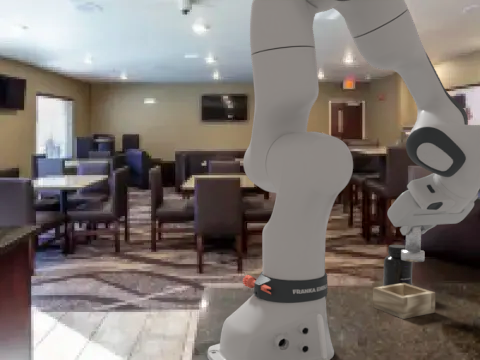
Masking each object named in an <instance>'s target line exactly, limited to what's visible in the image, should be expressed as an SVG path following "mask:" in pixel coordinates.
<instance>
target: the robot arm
mask: <svg viewBox="0 0 480 360" xmlns="http://www.w3.org/2000/svg"><path fill="white" fill-rule="evenodd" d="M250 6H251V9H250V20H249V21H250V23H249V41H250V42H249V45H250V46H249V47H250V56H251V57H250V59H251V70H252V79H253V91H254V111H253V112H254V114H253V121H252V127H251V128H252V129H251V136H250V137H251V138H250V142H249V145H248V147H247V149H246V151H245V152H244V156H243V163H242V164H243V165H242V166H243V171H244V172H245V175H246V177H247V178H248V180H249V181H250V182H251V183H253V184H254V185H255V186H257V187H259V188H260V189H261V190H263V191H265V192H269V193H275V200H274V201H275V202H274V206H273V209H272V213H271V216H270V218H269V220H268V222H267V223H266V224H265V225H264V226H263V229H262V231H261V232H262V235H261V236H262V237H261V238H262V241H261V242H262V245H261V246H262V253H261V254H262V258H261V259H262V260H261V261H262V271H261V272H260V274H259V276H258V277H257V278H256V277H254V276H252V275H249V274H247V275H244V277H243V278H242V284H243V285H244V286H245V287H247V288H249V289H253V294H252V295H251V296H250V297H248V299H247V300H246V301H245V302H244V303H242V305H240V306H239V307H238V308H237V309H236V310H235V311H234V312H232V313H231V314H230V315H229V316H228V317H226V319H225V320H224V321H223V324H222V329H221V331H220V332H221V333H220V340H219V343H216V344H213V345H210V346H209V347H208V349H207V359H208V360H331V359H333V357H334V355H335V350H334V347H333V344H332V343H333V342H332V340H331V335H330V329H329V324H328V317H327V316H328V314H327V304H326V303H327V302H326V301H327V298H328V297H327V296H328V291H329V290H328V273H326V239H327V236H326V235H327V228H328V223H329V219H330V216H331V212H332V210H333V206H334V204H335V201H336V199H337V197H338V195H339V194H340V193H341V192H342V191H343V190H344V189H345V188H346V186H348V184H349V183H350V180H351V178H352V175H353V171H354V170H353V169H354V161H353V159H354V158H353V155H352V153H351V151H350V148H349V147H348V145H347V144H346V143H345V142H344V141H343V140H341V139H340V138H338V137H336V136H333V135H330V134H328V133H324V132H318V131H308V125H309V118H310V113H311V110H312V107H313V106H314V104H315V103H316V101H317V99H318V98H319V97H318V96H319V92H320V88H319V87H320V86H319V76H318V75H319V74H318V63H317V54H316V53H317V52H316V44H315V34H314V20H315V17H316V15H317V14H319V13H323V12H327V11H329V10H332V9H334V10H336V11H337V13H339V14H340V15H341V16H342V17H343V20H344V22H345V25H346V27H347V29H348V32H349V33H350V36H351V38H352V40H353V42H354V44H355V46H356V49H357V50H358V52H359V53H360V56H362V58H363V60H365V62H366V63H367V64H368V66H371V67H372V68H375V69H378V70H383V71H384V70H386V71H387V70H388V71H391V70H392V71H394V72H395V73H397V74H398V75H399V76H400V77H401V79H402V80H403V83H404V85H405V86H406V88H407V89H408V91H409V94H410V95H411V96H412V98H413V101H414V102H415V105H416V108H417V110H416V111H417V113H416V121H415V123H414V124H413V127H412V128H411V130H410V132H409V135H408V137H407V138H406V142H405V149H406V153H407V156H408V158H410V160H411V161H412V162H413V163H414V164H416V165H417V166H418V167H421V168H423V169H425V170H427V171H429V172H430V174H429V175H426V176H423V177H421V178H417V179H413V180H410V182H409V183H408V184H407V185H406V188H407V190H405V191H404V192H402V193H401V194H400V195H399V196H398V197H397V198H396V200H394V202H393V203H392V204H391V206H390V207H389V208H388V210H387V217H388V219H389V221H390V222H391V224H392V225H393V227H395V228H398V227H399V231H400V233H401V235H402V236H406V235H409V234H410V233H411V232H412V229H411V227H414V226H420V225H421V235H424V234H425V233H426V232H427V231H429V230H431V229H432V228H435V227H436V226H437V225H450V224H451V225H453V224H454V225H455V224H458V223H460V222H461V221H463V220H464V219H465V218H466V217H467V216H468V215H469V214H470V213H471V211H472V209H473V208H474V207H475V201H476V200H477V199H478V198H479V190H480V124H469V119H468V114H467V112H466V110H465V109H464V106H462V105H461V104H460V103H459V102H458V101H457V100H456V99H454V98H453V97H452V95H450V94H449V92H448V91H447V90H446V88H445V86H444V84H443V82H442V81H441V79H440V77H439V75H438V73H437V71H436V69H435V66H433V64H432V61H431V59H430V57H429V56H428V54H427V52H426V50H425V48H424V46H423V43H422V40H421V38H420V35H419V32H418V30H417V27H416V25H415V22H414V19H413V17H412V15H411V14H412V13H411V12H410V9H409V7H408V6H407V3H406V1H405V0H252V2H251V5H250Z"/></svg>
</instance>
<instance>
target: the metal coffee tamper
mask: <svg viewBox="0 0 480 360" xmlns="http://www.w3.org/2000/svg"><path fill="white" fill-rule="evenodd" d="M411 229H412V232H411V233H410V234H409V235H405V246H406V249H402V250H401V259H402V260H404V261H410V262H412V263H422V262H425V258H426V257H425V251H424V250H421V249H422V248H421V246H422V245H421V244H422V243H421V242H422V234H421V225H420V226H414V227H411Z"/></svg>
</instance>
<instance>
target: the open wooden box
mask: <svg viewBox="0 0 480 360" xmlns="http://www.w3.org/2000/svg"><path fill="white" fill-rule="evenodd" d="M372 308H374V309H376V310H379V311H381V312H384V313H387V314H389V315H392V316H395V317H398V318H400V319H402V320H404V319H409V318H414V317H415V318H416V317H420V316H424V315H430V314H434V313H435V312H436V292H435V291H432V290H428V289H425V288H422V287H420V286H419V287H418V286H415V285H413V284H412V285H409V284H406V283H400V284H394V285H387V286H383V285H382V286H376V287H372Z"/></svg>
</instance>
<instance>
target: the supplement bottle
mask: <svg viewBox="0 0 480 360" xmlns="http://www.w3.org/2000/svg"><path fill="white" fill-rule="evenodd" d="M387 249H388V250H387V253H388V255H386V256H385V258H384V260H383V278H382V279H383V285H382V286H387V285H394V284H400V283H406V284H409V285H413V262H410V261H404V260H402V259H401V250H402V249H406V245H404V244H390V245H388V248H387Z"/></svg>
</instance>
